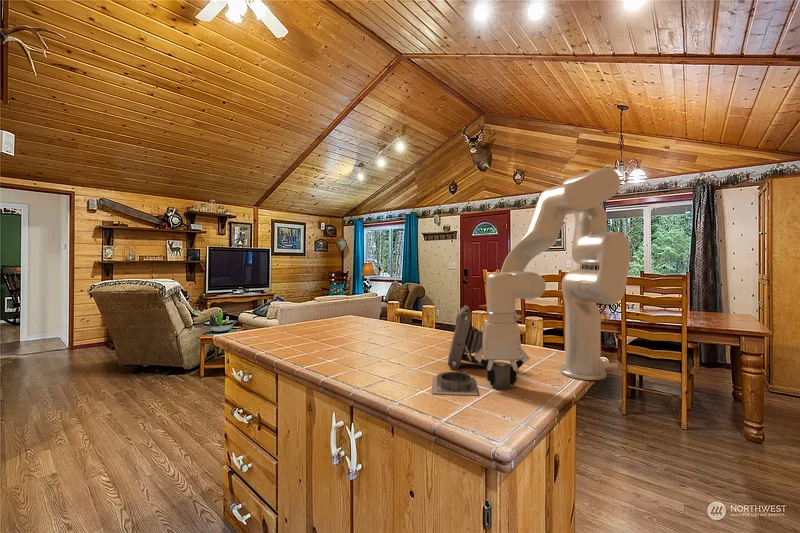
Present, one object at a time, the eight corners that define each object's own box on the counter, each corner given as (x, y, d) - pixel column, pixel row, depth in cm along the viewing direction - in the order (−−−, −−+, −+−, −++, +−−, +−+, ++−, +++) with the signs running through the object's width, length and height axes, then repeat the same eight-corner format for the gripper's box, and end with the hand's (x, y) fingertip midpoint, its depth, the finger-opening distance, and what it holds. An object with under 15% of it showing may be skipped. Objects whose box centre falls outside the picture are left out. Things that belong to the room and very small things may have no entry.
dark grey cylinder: (509, 383, 101) (509, 361, 100) (512, 389, 96) (512, 367, 95) (491, 382, 101) (491, 361, 101) (493, 389, 96) (493, 366, 96)
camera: (496, 383, 111) (513, 321, 110) (443, 366, 114) (459, 306, 113) (493, 372, 122) (509, 316, 121) (446, 357, 125) (460, 302, 124)
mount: (473, 379, 104) (473, 370, 104) (477, 395, 92) (477, 385, 92) (432, 378, 106) (432, 369, 106) (431, 393, 94) (431, 384, 94)
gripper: (529, 315, 101) (530, 379, 101) (468, 315, 103) (469, 378, 103) (536, 320, 93) (537, 389, 94) (470, 320, 95) (471, 387, 96)
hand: (501, 383), depth 98 cm, fingers closed on dark grey cylinder, 4 cm apart
